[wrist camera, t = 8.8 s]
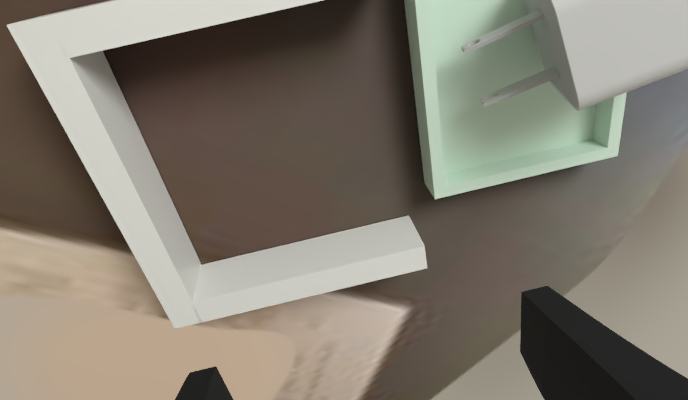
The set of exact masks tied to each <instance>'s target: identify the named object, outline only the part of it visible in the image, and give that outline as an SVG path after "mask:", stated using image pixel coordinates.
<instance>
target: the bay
mask: <svg viewBox="0 0 688 400" xmlns="http://www.w3.org/2000/svg"><path fill="white" fill-rule="evenodd" d="M319 1H323V0H109V1H105V2H100V3H96V4H91V5H87V6H83V7H78V8H74V9H69V10H65V11H60V12H56V13H51V14H47V15H43V16H39V17H35V18H31V19H27V20H24V21H20V22H16V23H12V24H8V25H7V27H8V29H9V31H10V32H11V34H12V36H13V38H14V40H15V41H16V43H17V45H18V47H19V49H20V50H21V52H22V54H23V56H24V58H25V59H26V61H27V63H28V65H29V67H30V68H31V70H32V72H33V74H34V76H35V77H36V79H37V81H38V83H39V85H40V87H41V88H42V90H43V92H44V94H45V96H46V97H47V99H48V101H49V103H50V105H51V106H52V108H53V110H54V112H55V114H56V115H57V117H58V119H59V121H60V123H61V124H62V126H63V128H64V130H65V132H66V133H67V135H68V137H69V139H70V141H71V142H72V144H73V146H74V148H75V150H76V151H77V153H78V155H79V157H80V159H81V160H82V162H83V164H84V166H85V168H86V169H87V171H88V173H89V175H90V177H91V179H92V180H93V182H94V184H95V186H96V188H97V189H98V191H99V193H100V195H101V197H102V198H103V200H104V202H105V204H106V206H107V207H108V209H109V211H110V213H111V215H112V216H113V218H114V220H115V222H116V224H117V225H118V227H119V229H120V231H121V233H122V234H123V236H124V238H125V240H126V242H127V243H128V245H129V247H130V249H131V251H132V252H133V254H134V256H135V258H136V260H137V261H138V263H139V265H140V267H141V269H142V271H143V272H144V274H145V276H146V278H147V280H148V281H149V283H150V285H151V287H152V289H153V290H154V292H155V294H156V296H157V298H158V299H159V301H160V303H161V305H162V307H163V308H164V310H165V312H166V314H167V316H168V317H169V319H170V321H171V323H172V325H173V326H174V328H175V329H177V328H181V327H185V326H190V325H194V324H198V323H202V322H206V321H210V320H214V319H219V318H223V317H227V316H231V315H235V314H239V313H244V312H248V311H252V310H256V309H260V308H264V307H268V306H273V305H277V304H281V303H285V302H289V301H293V300H297V299H302V298H306V297H310V296H314V295H318V294H322V293H326V292H331V291H335V290H339V289H343V288H347V287H351V286H356V285H360V284H364V283H368V282H372V281H376V280H380V279H385V278H389V277H393V276H397V275H401V274H405V273H409V272H414V271H418V270H422V269H426V268H427V262H426V254H425V246H424V244H423V242H422V240H421V238H420V236H419V234H418V232H417V230H416V228H415V226H414V224H413V222H412V220H411V219H410V217H409V215H408V216H404V217H400V218H396V219H392V220H387V221H383V222H379V223H375V224H371V225H366V226H362V227H358V228H354V229H350V230H345V231H341V232H337V233H333V234H329V235H324V236H320V237H316V238H312V239H308V240H303V241H299V242H295V243H291V244H287V245H282V246H278V247H274V248H270V249H266V250H261V251H257V252H253V253H249V254H245V255H240V256H236V257H232V258H228V259H224V260H219V261H215V262H211V263H207V264H203V265H201V263H200V261H199V259H198V256H197V254H196V252H195V250H194V248H193V246H192V243H191V241H190V239H189V237H188V235H187V233H186V230H185V228H184V226H183V224H182V222H181V220H180V217H179V215H178V213H177V211H176V209H175V207H174V204H173V202H172V200H171V198H170V196H169V194H168V191H167V189H166V187H165V185H164V183H163V181H162V178H161V176H160V174H159V172H158V170H157V168H156V165H155V163H154V161H153V159H152V157H151V155H150V152H149V150H148V148H147V146H146V144H145V141H144V139H143V137H142V135H141V133H140V131H139V128H138V126H137V124H136V122H135V120H134V118H133V115H132V113H131V111H130V109H129V107H128V105H127V102H126V100H125V98H124V96H123V94H122V92H121V89H120V87H119V85H118V83H117V81H116V79H115V76H114V74H113V72H112V70H111V68H110V66H109V63H108V61H107V59H106V57H105V55H104V53H103V50H107V49H112V48H116V47H121V46H125V45H129V44H134V43H138V42H143V41H147V40H151V39H156V38H160V37H165V36H169V35H173V34H178V33H182V32H187V31H191V30H195V29H200V28H204V27H209V26H213V25H217V24H222V23H226V22H231V21H235V20H239V19H244V18H248V17H253V16H257V15H261V14H266V13H270V12H275V11H279V10H283V9H288V8H292V7H297V6H301V5H305V4H310V3H314V2H319Z"/></svg>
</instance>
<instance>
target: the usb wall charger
mask: <svg viewBox="0 0 688 400" xmlns="http://www.w3.org/2000/svg"><path fill="white" fill-rule="evenodd" d="M524 2H525V5H526V9H527V12H528V15H526V16H524V17H521V18H519V19H517V20H515V21H513V22H511V23H509V24H506V25H504V26H502V27H500V28H498V29H496V30H494V31H491V32H489V33H487V34H485V35H483V36H481V37H479V38H477V39H475V40H473V41H471V42H469V43H467V44H465V45H463V46H462V47H461V49H462V51H463V52H464V53H465V54H466V53H469V52H471V51H473V50H476V49H478V48H480V47H483V46H485V45H487V44H489V43H492V42H494V41H496V40H498V39H500V38H503V37H505V36H507V35H509V34H511V33H514V32H516V31H518V30H520V29H522V28H524V27H527V26H529V25H531V26H532V30H533V33H534V37H535V40H536V44H537V47H538V51H539V54H540V58H541V61H542V64H543V68H544V71H541V72H539V73H537V74H534V75H532V76H530V77H527V78H525V79H522V80H520V81H518V82H515V83H513V84H511V85H508V86H506V87H504V88H501V89H499V90H497V91H495V92H492V93H490V94H488V95H486V96H484V97H482V98H481V99H480V100H481V102H482V105H483V106H484V107H485V106H488V105H491V104H494V103H496V102H499V101H501V100H504V99H507V98H509V97H512V96H514V95H517V94H519V93H522V92H524V91H526V90H529V89H531V88H534V87H536V86H539V85H541V84H543V83H546V82H548V81H550V83H551V85H552V86H553V87H554V88H555V89H556V90H557V91H558V92H559V93H560V94H561V95H562V96H563V97H564V98H565V99H566V100H567V101H568V102H569V103H570V105H571V106H572V107H573V108H574V109H575V110H577V111H579V110H582V109H584V108H587V107H589V106H592V105H595V104H597V103H600V102H602V101H605V100H608V99H610V98H613V97H615V96H618V95H621V94H623V93H626V92H629V91H631V90H634V89H636V88H639V87H642V86H644V85H647V84H649V83H652V82H655V81H657V80H660V79H662V78H665V77H668V76H670V75H673V74H676V73H678V72H681V71H683V70H686V69H688V0H524ZM496 96H497V97H496ZM493 97H496V98H494V99H491V98H493ZM489 99H491V100H489Z"/></svg>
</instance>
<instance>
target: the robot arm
mask: <svg viewBox="0 0 688 400" xmlns="http://www.w3.org/2000/svg"><path fill="white" fill-rule="evenodd" d="M520 352H521V354H522V356H523V358H524V360H525V362H526V364H527V367H528V368H529V371H530V373H531V375H532V377H533V379H534V381H535V383H536V385H537V387H538V389H539V390H540V392H541V394H542V396H543V398H544V399H545V400H688V379H687V378H686V377H684V376H682V375H681V374H679V373H677V372H676V371H674V370H672V369H671V368H669V367H667V366H666V365H664V364H663V363H661V362H660V361H658V360H656V359H655V358H653V357H652V356H650V355H648V354H647V353H645V352H644V351H642V350H641V349H639V348H637V347H636V346H635V345H633V344H632V343H630V342H628V341H627V340H625V339H624V338H622V337H621V336H619V335H618V334H616V333H615V332H613V331H612V330H610V329H609V328H607V327H606V326H604V325H603V324H602V323H600V322H599V321H597V320H596V319H594V318H593V317H591V316H590V315H588V314H587V313H586V312H584V311H583V310H581V309H580V308H578V307H577V306H576V305H574V304H573V303H571V302H570V301H568V300H567V299H566V298H564V297H563V296H561V295H560V294H558V293H557V292H556V291H554V290H553V289H551V288H550V287H548V286H545V287H541V288H537V289H532V290H528V291H524V292H522V298H521V345H520ZM175 400H233V398H232V396H231V394H230V393H229V391H228V389H227V387H226V385H225V383H224V381H223V379H222V377H221V375H220V374H219V371H218V370H217V367H212V368H208V369H204V370H199V371H195V372H191V373H189V375H188V377H187V378H186V380H185V382H184V384H183V385H182V387H181V389H180V391H179V393H178V395H177V397H176V399H175Z"/></svg>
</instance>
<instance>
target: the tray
mask: <svg viewBox="0 0 688 400" xmlns="http://www.w3.org/2000/svg"><path fill="white" fill-rule="evenodd" d="M404 5H405V14H406V23H407V32H408V41H409V50H410V58H411V67H412V76H413V85H414V94H415V103H416V112H417V121H418V130H419V139H420V148H421V157H422V166H423V175H424V183H425V185H426V186H427V188H428V189H429V191H430V193H431V194H432V196H433V197H434V199H439V198H443V197H447V196H451V195H455V194H460V193H464V192H468V191H472V190H476V189H481V188H485V187H489V186H493V185H497V184H502V183H506V182H510V181H514V180H518V179H523V178H527V177H531V176H535V175H539V174H544V173H548V172H552V171H556V170H560V169H565V168H569V167H573V166H577V165H581V164H586V163H590V162H594V161H598V160H602V159H607V158H611V157H615V156H618V150H619V143H620V136H621V129H622V122H623V115H624V107H625V100H626V93H627V92H626V93H623V94H621V95H618V96H615V97H613V98H610V99H608V100H605V101H602V102H600V103H597V104H595V105H592V106H589V107H587V108H584V109H582V110H579V111H577V110H575V109H574V108H573V107H572V106H571V105H570V103H569V102H568V101H567V100H566V99H565V98H564V97H563V96H562V95H561V94H560V93H559V92H558V91H557V90H556V89H555V88H554V87H553V86H552V85H551V83H550V81H548V82H546V83H543V84H541V85H539V86H536V87H534V88H531V89H529V90H526V91H524V92H522V93H519V94H517V95H514V96H512V97H509V98H507V99H504V100H501V101H499V102H496V103H494V104H491V105H488V106H485V107H484V106H483V105H482V102H481V100H480V99H481V98H482V97H484V96H486V95H488V94H490V93H492V92H495V91H497V90H499V89H501V88H504V87H506V86H508V85H511V84H513V83H515V82H518V81H520V80H522V79H525V78H527V77H530V76H532V75H534V74H537V73H539V72H541V71H544V68H543V64H542V61H541V58H540V54H539V51H538V47H537V44H536V40H535V37H534V33H533V30H532V26H531V25H529V26H527V27H524V28H522V29H520V30H518V31H516V32H514V33H511V34H509V35H507V36H505V37H503V38H500V39H498V40H496V41H494V42H492V43H489V44H487V45H485V46H483V47H480V48H478V49H476V50H473V51H471V52H469V53H466V54H465V53H464V52H463V51H462V49H461V47H462V46H463V45H465V44H467V43H469V42H471V41H473V40H475V39H477V38H479V37H481V36H483V35H485V34H487V33H489V32H491V31H494V30H496V29H498V28H500V27H502V26H504V25H506V24H509V23H511V22H513V21H515V20H517V19H519V18H521V17H524V16H526V15H528V12H527V9H526V5H525V2H524V0H404ZM496 97H497V96H496ZM496 97H493V98H491V99H494V98H496ZM491 99H489V100H491Z"/></svg>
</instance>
